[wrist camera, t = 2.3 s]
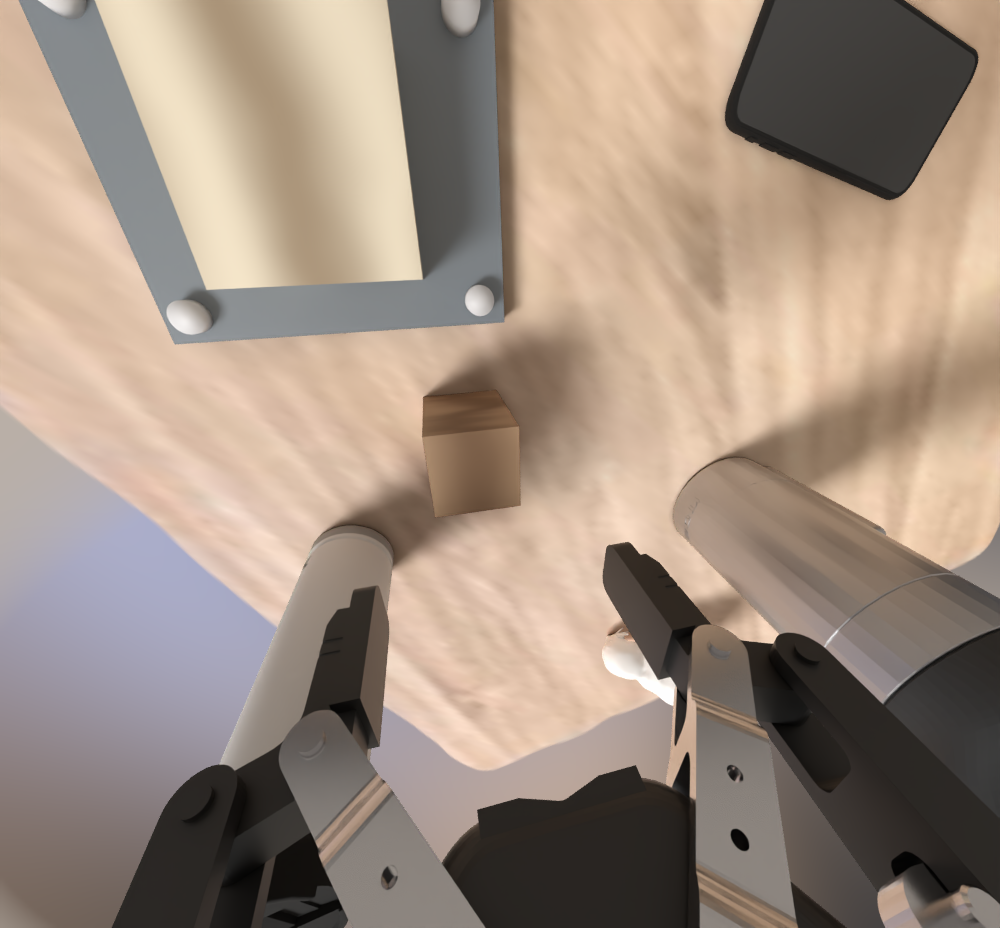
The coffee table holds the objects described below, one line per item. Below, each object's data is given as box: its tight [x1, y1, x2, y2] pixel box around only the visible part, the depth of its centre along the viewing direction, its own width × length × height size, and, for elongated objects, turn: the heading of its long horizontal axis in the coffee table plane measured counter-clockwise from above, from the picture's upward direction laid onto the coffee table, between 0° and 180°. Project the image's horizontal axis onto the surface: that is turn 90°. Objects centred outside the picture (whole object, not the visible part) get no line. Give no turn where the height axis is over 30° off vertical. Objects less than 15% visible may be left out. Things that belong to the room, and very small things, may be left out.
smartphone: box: [725, 0, 978, 200], centre depth 20 cm, size 7×1×15 cm
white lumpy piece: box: [602, 627, 675, 706], centre depth 38 cm, size 6×8×12 cm
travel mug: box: [219, 525, 394, 928], centre depth 20 cm, size 6×7×20 cm
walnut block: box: [422, 390, 521, 518], centre depth 22 cm, size 5×5×7 cm
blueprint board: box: [19, 0, 504, 344], centre depth 17 cm, size 18×14×2 cm
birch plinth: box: [95, 0, 423, 290], centre depth 15 cm, size 9×9×4 cm
